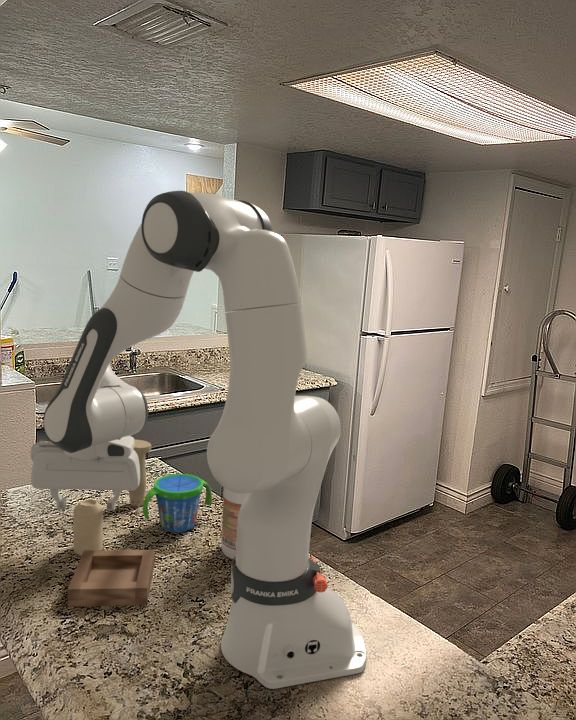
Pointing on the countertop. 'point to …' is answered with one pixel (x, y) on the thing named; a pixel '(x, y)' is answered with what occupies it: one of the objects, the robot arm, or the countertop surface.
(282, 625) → the robot arm
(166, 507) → the snack cup
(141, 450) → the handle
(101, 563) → the brown shallow square tray
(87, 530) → the candle
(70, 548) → the countertop surface
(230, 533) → the fruit juice
